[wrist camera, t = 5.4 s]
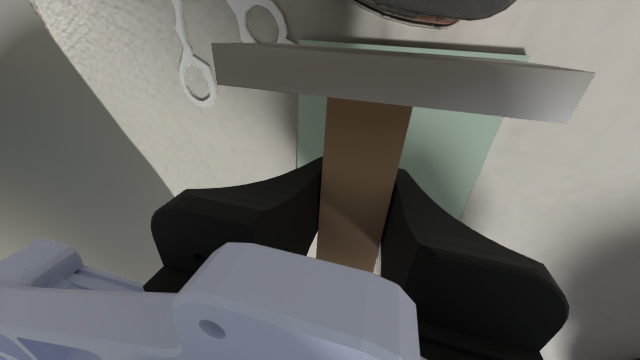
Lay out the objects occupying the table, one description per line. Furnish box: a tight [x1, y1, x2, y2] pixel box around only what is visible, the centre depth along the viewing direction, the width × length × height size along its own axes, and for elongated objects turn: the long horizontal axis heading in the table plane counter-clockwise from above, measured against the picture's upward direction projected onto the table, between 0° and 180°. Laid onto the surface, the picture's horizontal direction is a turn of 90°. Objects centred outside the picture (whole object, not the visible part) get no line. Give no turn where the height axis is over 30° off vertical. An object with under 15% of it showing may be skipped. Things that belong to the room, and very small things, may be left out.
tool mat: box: [297, 40, 530, 242], centre depth 18 cm, size 15×13×1 cm
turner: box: [211, 43, 595, 273], centre depth 12 cm, size 13×10×5 cm
